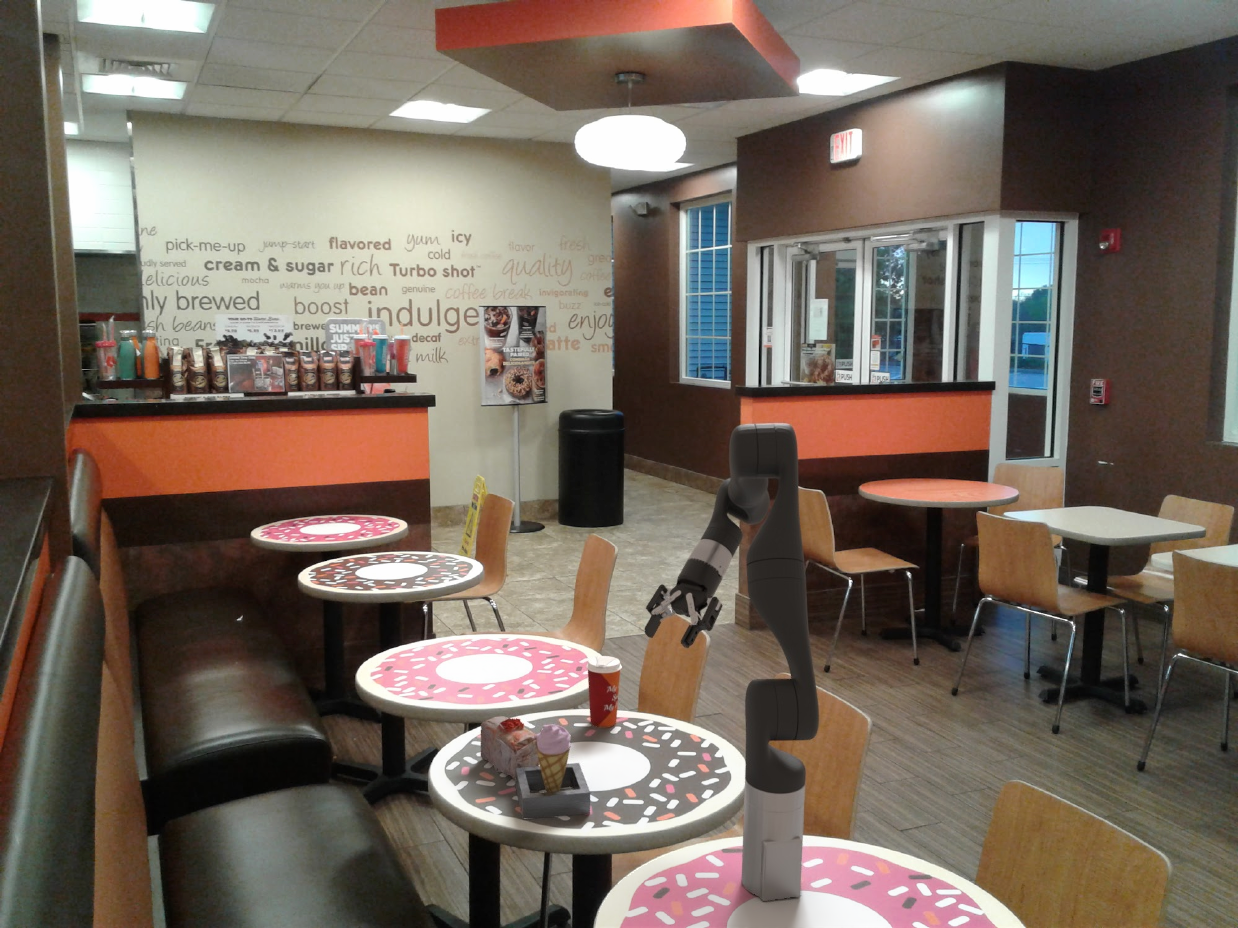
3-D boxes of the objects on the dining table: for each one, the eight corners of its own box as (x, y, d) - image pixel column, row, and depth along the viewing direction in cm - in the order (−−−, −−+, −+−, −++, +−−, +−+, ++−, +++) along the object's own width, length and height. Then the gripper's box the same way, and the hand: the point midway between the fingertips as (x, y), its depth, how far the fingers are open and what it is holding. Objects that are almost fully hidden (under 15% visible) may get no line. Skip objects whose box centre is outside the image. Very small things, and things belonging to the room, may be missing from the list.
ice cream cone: (527, 803, 181) (527, 724, 179) (543, 788, 187) (543, 712, 184) (560, 810, 178) (560, 730, 176) (575, 795, 184) (575, 718, 182)
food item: (547, 773, 193) (547, 725, 191) (513, 786, 188) (513, 736, 186) (506, 750, 203) (506, 704, 202) (473, 761, 198) (473, 714, 196)
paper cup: (617, 731, 213) (617, 668, 211) (582, 727, 214) (582, 665, 212) (624, 716, 220) (625, 656, 218) (590, 713, 222) (590, 653, 220)
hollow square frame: (590, 813, 178) (590, 792, 177) (522, 819, 175) (522, 798, 175) (578, 782, 189) (579, 762, 189) (515, 787, 187) (515, 767, 186)
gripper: (667, 551, 191) (627, 621, 185) (728, 563, 182) (687, 637, 175) (684, 573, 196) (645, 642, 189) (743, 586, 187) (705, 659, 180)
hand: (665, 640), depth 182 cm, fingers open, 8 cm apart
